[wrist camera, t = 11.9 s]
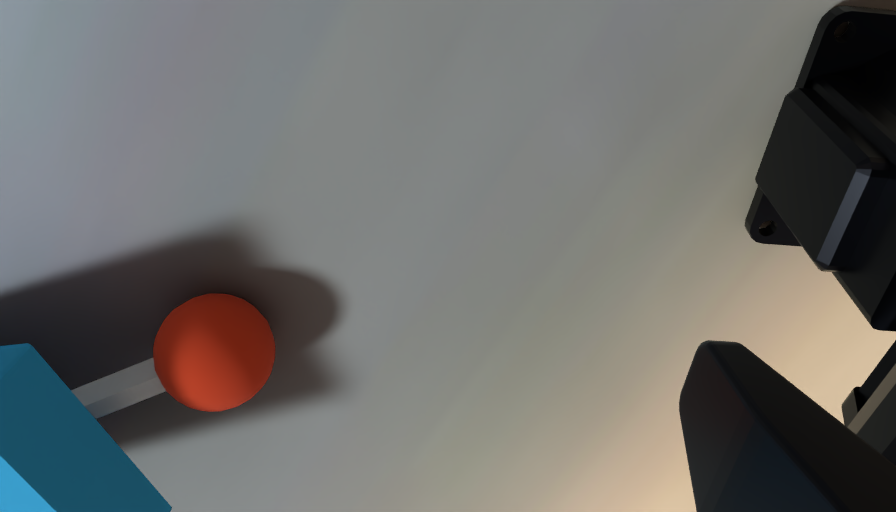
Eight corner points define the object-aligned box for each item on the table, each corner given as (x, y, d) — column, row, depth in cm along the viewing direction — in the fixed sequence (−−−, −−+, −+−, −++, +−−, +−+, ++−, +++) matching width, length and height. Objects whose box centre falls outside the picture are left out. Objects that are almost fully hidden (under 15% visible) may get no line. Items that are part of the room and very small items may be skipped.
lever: (-40, 410, 32) (334, 386, 25) (-184, 565, 27) (238, 591, 20) (-166, 283, 28) (232, 214, 21) (-362, 435, 23) (80, 410, 16)
